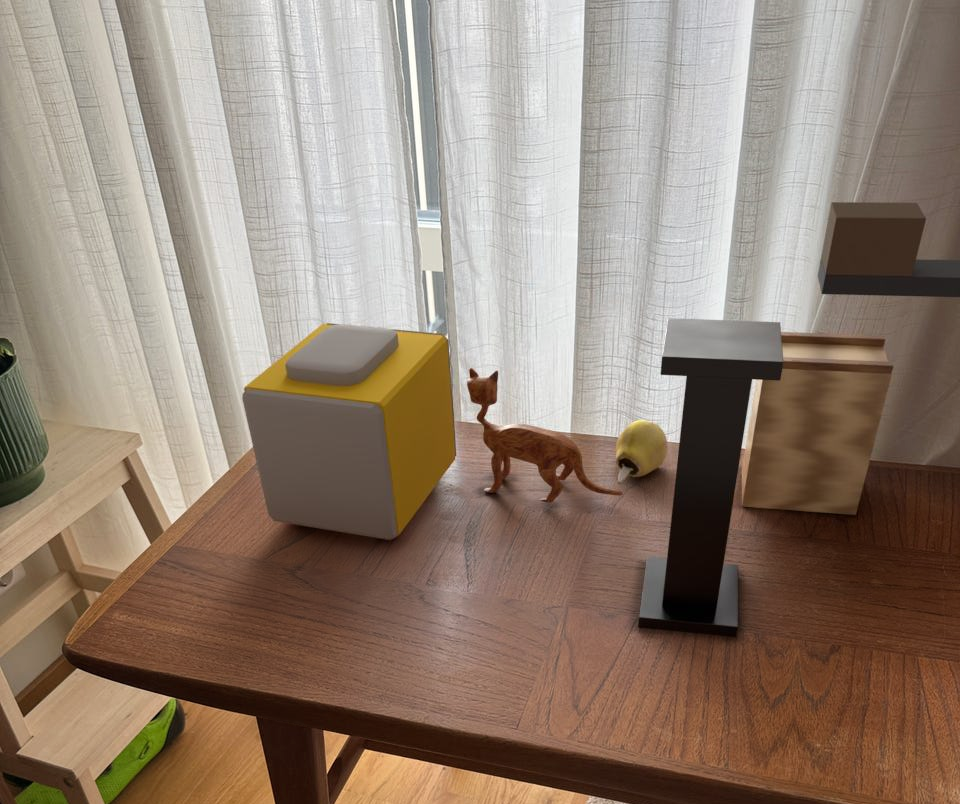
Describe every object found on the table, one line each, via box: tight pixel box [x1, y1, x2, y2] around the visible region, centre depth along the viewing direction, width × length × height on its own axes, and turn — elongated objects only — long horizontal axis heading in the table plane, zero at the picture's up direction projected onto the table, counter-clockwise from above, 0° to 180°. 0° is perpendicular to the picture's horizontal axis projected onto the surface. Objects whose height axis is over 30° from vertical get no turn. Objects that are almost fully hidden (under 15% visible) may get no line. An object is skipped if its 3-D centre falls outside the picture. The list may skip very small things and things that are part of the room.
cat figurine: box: [466, 367, 624, 503], centre depth 101 cm, size 18×7×14 cm, turn 70°
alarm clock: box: [241, 322, 457, 541], centre depth 100 cm, size 20×16×18 cm
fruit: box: [615, 419, 669, 485], centre depth 107 cm, size 6×6×10 cm
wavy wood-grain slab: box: [741, 331, 894, 516], centre depth 98 cm, size 12×8×17 cm, turn 78°
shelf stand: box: [637, 317, 784, 638], centre depth 81 cm, size 9×10×26 cm
